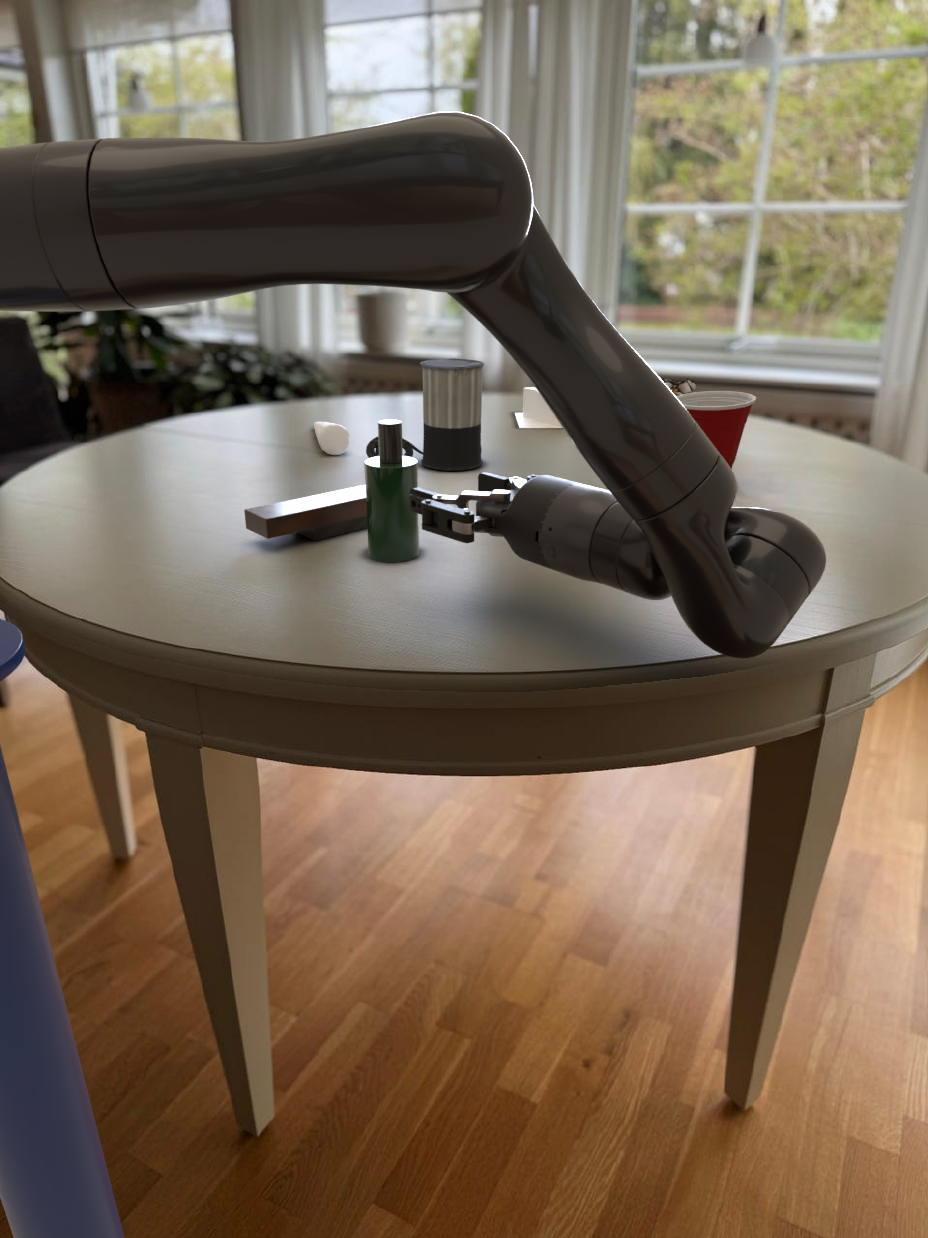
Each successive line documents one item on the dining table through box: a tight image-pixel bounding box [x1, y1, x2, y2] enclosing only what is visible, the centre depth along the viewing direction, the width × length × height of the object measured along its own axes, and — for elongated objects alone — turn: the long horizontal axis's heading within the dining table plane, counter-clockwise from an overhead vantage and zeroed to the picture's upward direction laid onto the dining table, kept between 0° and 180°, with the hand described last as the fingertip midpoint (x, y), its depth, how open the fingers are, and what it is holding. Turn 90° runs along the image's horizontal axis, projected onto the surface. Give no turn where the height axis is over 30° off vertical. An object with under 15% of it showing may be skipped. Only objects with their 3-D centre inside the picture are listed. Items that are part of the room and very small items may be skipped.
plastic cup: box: [677, 390, 757, 470], centre depth 116 cm, size 11×11×12 cm
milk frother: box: [365, 357, 485, 471], centre depth 125 cm, size 14×16×15 cm
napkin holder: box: [514, 386, 563, 429], centre depth 159 cm, size 15×11×6 cm
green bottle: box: [364, 419, 420, 563], centre depth 89 cm, size 5×5×14 cm
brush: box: [243, 484, 367, 542], centre depth 98 cm, size 18×5×4 cm, turn 131°
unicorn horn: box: [313, 421, 351, 456], centre depth 142 cm, size 5×24×5 cm, turn 13°
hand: (447, 490), depth 82 cm, fingers open, 8 cm apart
